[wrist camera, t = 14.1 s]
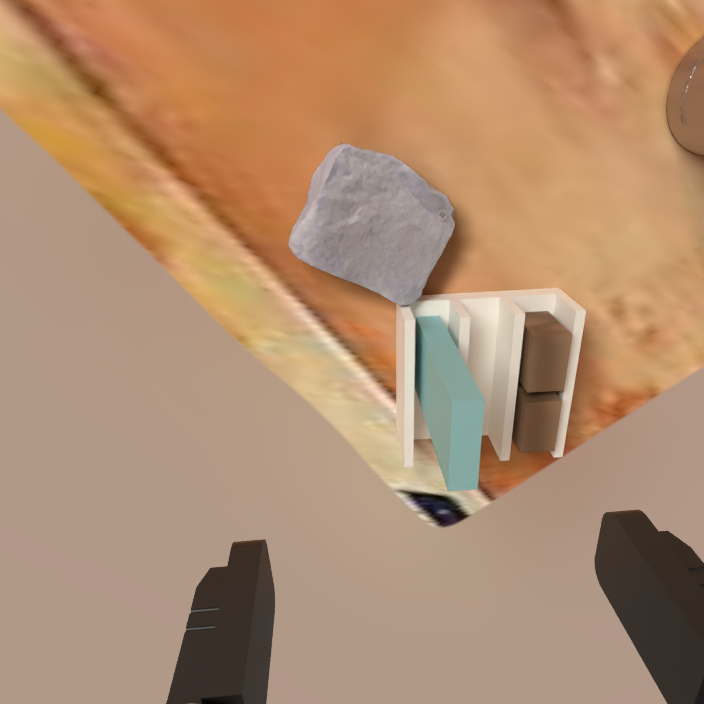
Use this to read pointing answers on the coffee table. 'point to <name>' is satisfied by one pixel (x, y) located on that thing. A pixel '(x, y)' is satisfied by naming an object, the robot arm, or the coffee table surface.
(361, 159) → the stone block
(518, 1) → the coffee table surface
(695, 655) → the robot arm
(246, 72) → the coffee table surface
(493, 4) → the coffee table surface
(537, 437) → the offcut
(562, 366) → the offcut
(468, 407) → the sheet
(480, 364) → the rack
